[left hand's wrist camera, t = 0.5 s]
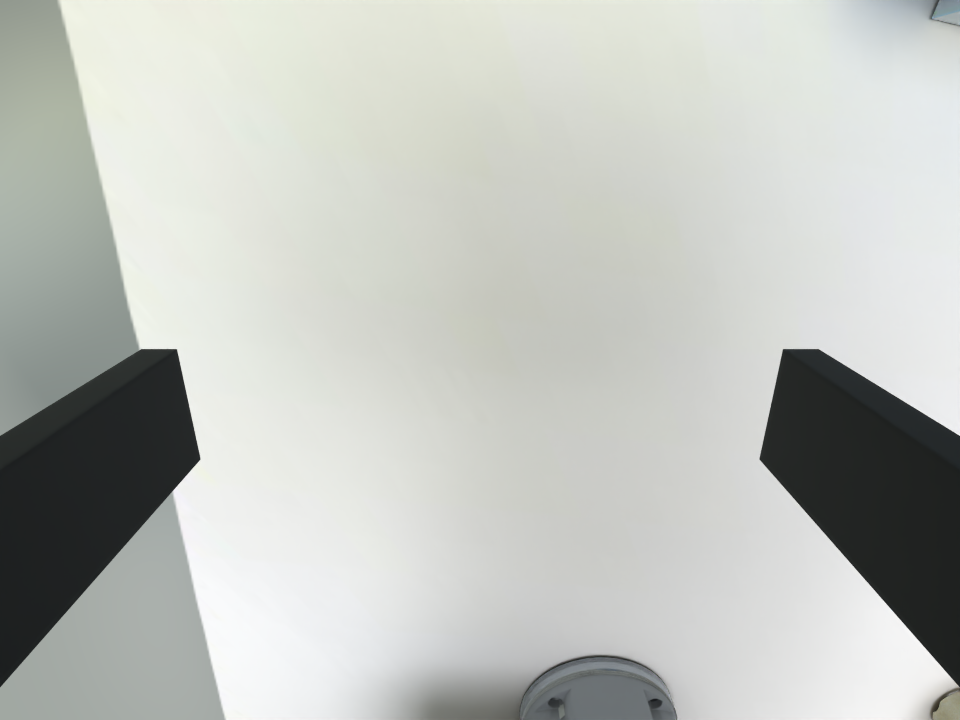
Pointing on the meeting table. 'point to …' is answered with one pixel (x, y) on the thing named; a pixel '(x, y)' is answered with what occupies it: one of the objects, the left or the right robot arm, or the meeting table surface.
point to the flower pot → (948, 708)
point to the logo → (948, 11)
